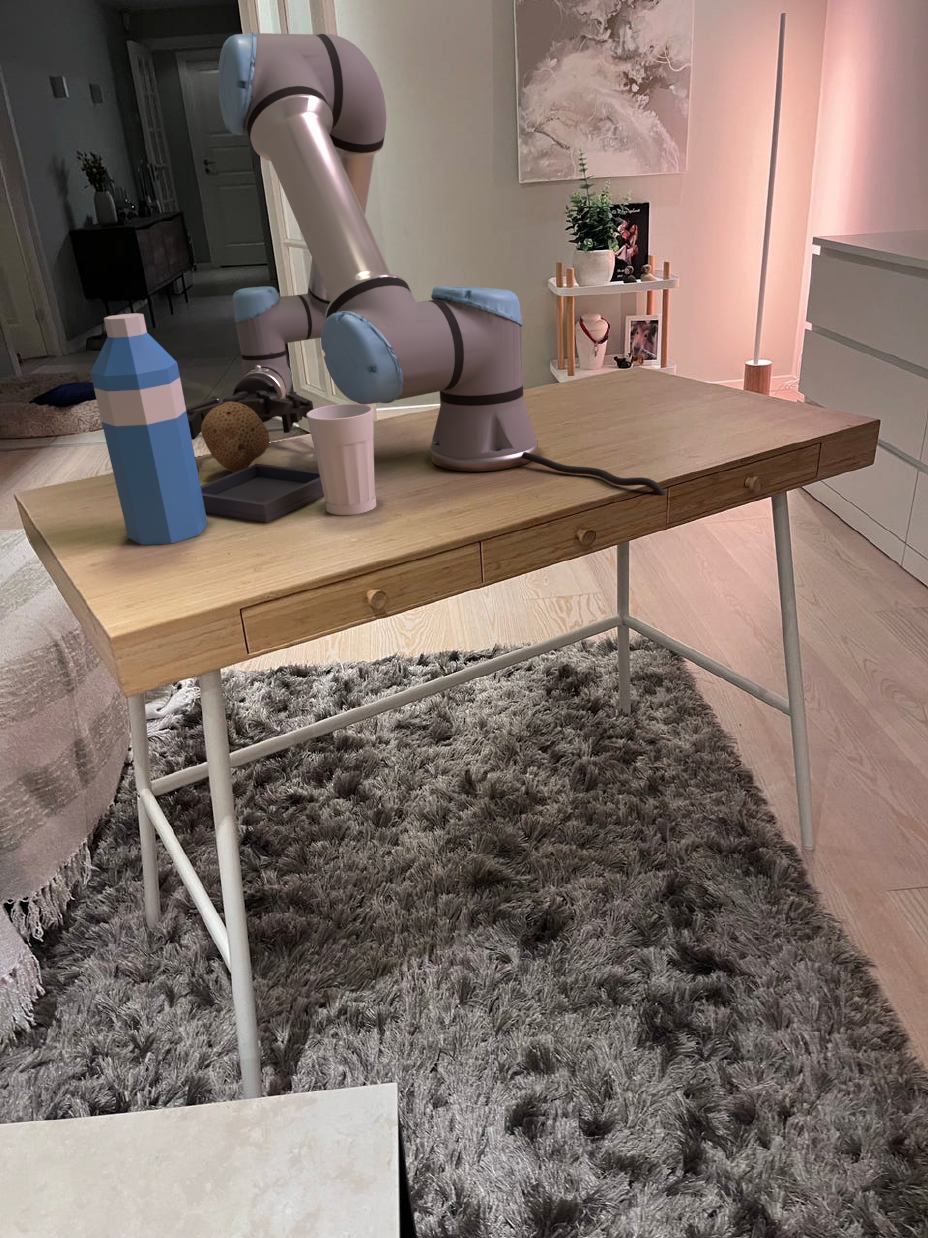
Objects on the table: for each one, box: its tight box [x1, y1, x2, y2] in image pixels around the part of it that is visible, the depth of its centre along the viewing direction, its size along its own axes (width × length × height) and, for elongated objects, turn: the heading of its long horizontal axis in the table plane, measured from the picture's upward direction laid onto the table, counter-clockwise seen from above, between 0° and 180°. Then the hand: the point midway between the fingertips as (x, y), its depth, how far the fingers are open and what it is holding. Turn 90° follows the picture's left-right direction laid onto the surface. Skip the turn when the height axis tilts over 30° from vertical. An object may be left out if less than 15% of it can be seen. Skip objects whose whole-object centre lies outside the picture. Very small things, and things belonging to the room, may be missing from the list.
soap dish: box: [200, 463, 324, 524], centre depth 122 cm, size 14×14×2 cm
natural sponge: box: [200, 401, 270, 473], centre depth 133 cm, size 9×9×10 cm
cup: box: [306, 403, 377, 516], centre depth 115 cm, size 8×8×12 cm
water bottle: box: [90, 312, 209, 546], centre depth 108 cm, size 9×9×25 cm
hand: (237, 427), depth 134 cm, fingers open, 13 cm apart
